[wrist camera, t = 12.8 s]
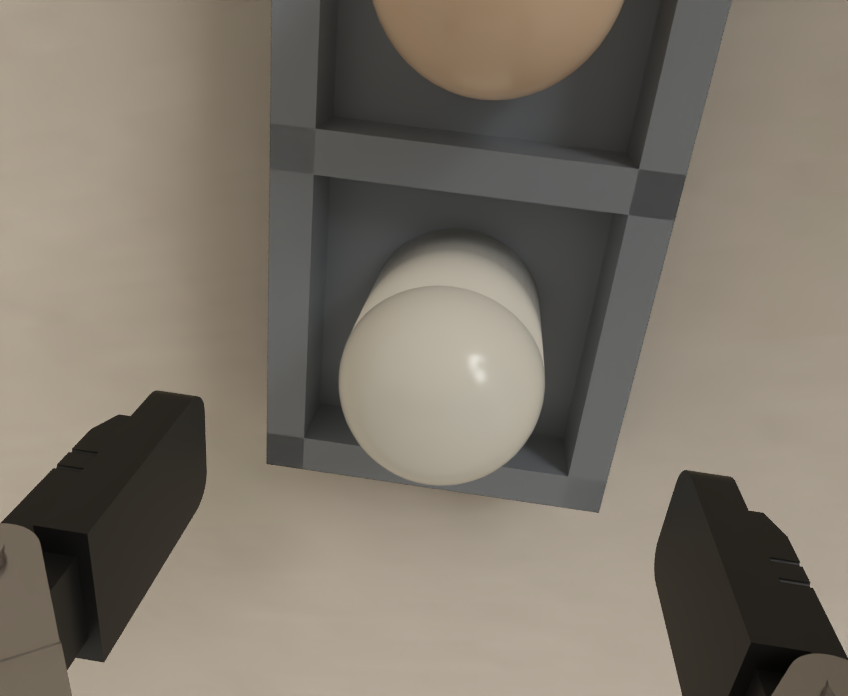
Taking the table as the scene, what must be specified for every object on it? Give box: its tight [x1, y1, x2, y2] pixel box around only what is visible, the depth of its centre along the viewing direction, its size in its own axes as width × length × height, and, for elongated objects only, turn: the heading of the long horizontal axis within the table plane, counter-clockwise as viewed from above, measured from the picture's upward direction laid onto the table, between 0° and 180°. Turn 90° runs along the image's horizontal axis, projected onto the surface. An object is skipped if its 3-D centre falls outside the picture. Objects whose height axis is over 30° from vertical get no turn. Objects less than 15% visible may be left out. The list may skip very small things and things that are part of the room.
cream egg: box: [339, 229, 545, 486], centre depth 17 cm, size 4×4×6 cm
